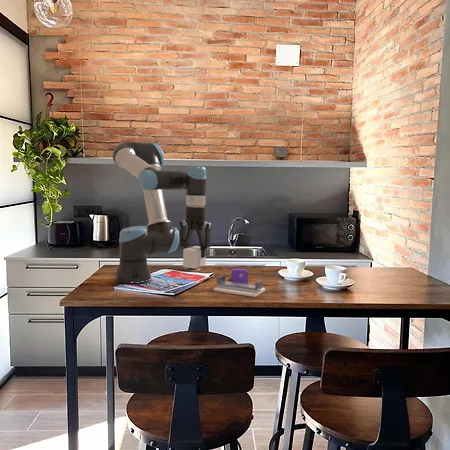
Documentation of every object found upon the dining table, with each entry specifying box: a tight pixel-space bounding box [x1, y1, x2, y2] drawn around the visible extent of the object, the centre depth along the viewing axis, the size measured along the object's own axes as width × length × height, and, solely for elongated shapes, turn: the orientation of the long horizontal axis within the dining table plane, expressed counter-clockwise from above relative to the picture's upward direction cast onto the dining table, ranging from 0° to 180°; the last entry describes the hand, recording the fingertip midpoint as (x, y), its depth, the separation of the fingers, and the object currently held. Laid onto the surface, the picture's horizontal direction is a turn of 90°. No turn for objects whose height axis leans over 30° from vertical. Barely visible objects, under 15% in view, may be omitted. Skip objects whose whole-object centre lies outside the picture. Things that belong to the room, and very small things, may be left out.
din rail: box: [216, 274, 264, 293], centre depth 172 cm, size 19×6×4 cm, turn 63°
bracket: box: [230, 268, 249, 284], centre depth 187 cm, size 12×7×7 cm, turn 0°
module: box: [182, 245, 207, 268], centre depth 169 cm, size 5×9×7 cm, turn 154°
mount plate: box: [213, 286, 266, 298], centre depth 172 cm, size 18×11×1 cm, turn 63°
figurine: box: [185, 267, 202, 272], centre depth 211 cm, size 8×10×12 cm
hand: (194, 264), depth 169 cm, fingers closed on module, 5 cm apart
